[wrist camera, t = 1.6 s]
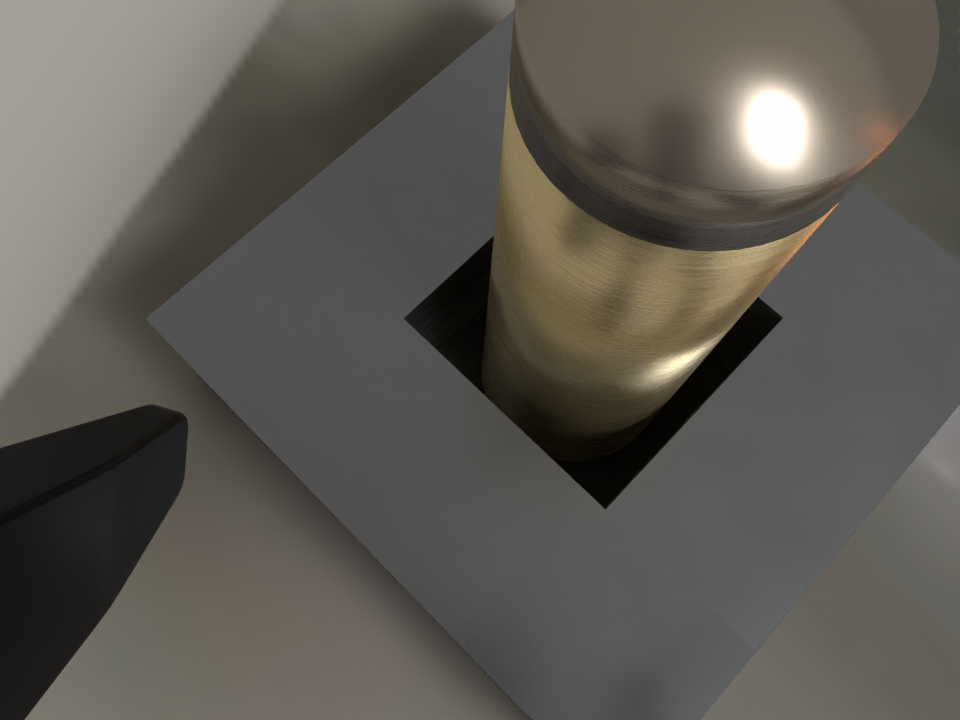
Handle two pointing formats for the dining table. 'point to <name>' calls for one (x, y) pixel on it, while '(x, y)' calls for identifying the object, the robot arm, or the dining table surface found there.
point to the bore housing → (521, 462)
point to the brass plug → (671, 186)
